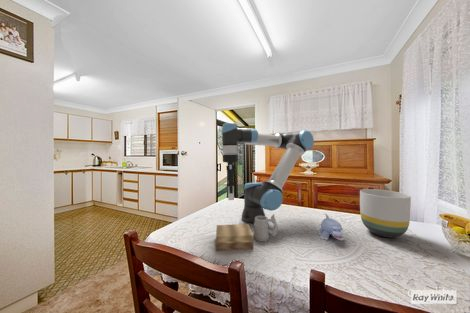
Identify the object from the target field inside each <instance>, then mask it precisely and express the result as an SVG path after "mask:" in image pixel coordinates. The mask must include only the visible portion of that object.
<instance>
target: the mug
mask: <svg viewBox="0 0 470 313" xmlns="http://www.w3.org/2000/svg"><path fill="white" fill-rule="evenodd" d="M265 216H266V215H265ZM265 216H256V217H255V223H253V226H254V230H253V232H252V234H253V239H255V240H256V241H258V242H266V241H268V240H269V237H270V234H271V235H272V236H273V237H276V235H277V234H278V229H279V226H278V224H277V221H276V218H275V214H274V213H273V214H272V215H271V217H270V218H269V217H268V216H266V217H265ZM269 222H271V223H272V224H273V228H272V229H270V228H269V227H270V225H269V224H270V223H269Z"/></svg>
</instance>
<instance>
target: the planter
mask: <svg viewBox="0 0 470 313" xmlns="http://www.w3.org/2000/svg"><path fill="white" fill-rule="evenodd" d="M411 201H412V196H411V195H409V194H407V193H404V192H399V191H393V190H385V189H372V188H366V189H364V188H363V189H360V190H359V210H360V211H359V213H360V219H361V222H362V224H363V225H364V227H366V229H367V230H369V231H370V232H372V233H373V234H374V235H378V236H379V237H383V238H391V239H392V238H398V237H400V236H403V235H404V234H405V233H407V231H408V229H409V226H410V221H411V206H412V204H411V203H412V202H411Z"/></svg>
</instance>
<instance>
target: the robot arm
mask: <svg viewBox="0 0 470 313" xmlns="http://www.w3.org/2000/svg"><path fill="white" fill-rule="evenodd" d="M221 128H222V129H221V135H222V139H221V140H222V142H221V143H222V147H221V150H222V154H223V155H222V162H223V163H227V165H226V168H225V169H226V174H227V184H226V187H227V199H228V201H234V200H235V186H234V185H235V182H234V181H235V178H234V175H235V165H234V164H233V163H237V162H238V159H239V158H238V157H239V156H238V153H239V152H238V151H239V150H238V145H250V146H265V147H266V146H267V147H268V146H269V147H273V148H275V149H283V150H285V152H284V153H283V155H282V156H281V158H280V159H279V162H278V163H277V165H276V167H275V169H274V171H273V172H272V174H271V175H270V177H269V179H268V180H265V181H264V182H261V181H260V182H258V181H257V182H247V183H245V184H244V188H243V191H244V192H243V194H244V195H243V196H244V199H243V200H244V201H243V202H244V204H243V208H242V212H241V220H242V221H243V222H244V223H247V224H254V223H255V217H256V216H265V217H267V216H266V213H265V211H264V210H267V211H269V212H272V211H276V210H277V209H279V208H280V207H281V206H282V204H283V202H284V201H283V198H284V196H283V192H284V191H283V187H284V185H285V183H286V181H287V180H288V177H289V176H290V174H291V172H292V171H293V169H294V167H295V165H296V163H297V161H299V158H300V156H304V154H305V153H306V150H311V149H313V147H314V144H315V141H314V140H315V139H314V136H313V134H312V132H310V131H309V130H306V129H305V130H302V129H301V130H298V131H297V130H296V131H292V132H291V131H289V132H284V133H275V134H270V133H269V134H268V133H259V132H258V130H257V129H256V128H252V127H250V128H248V127H247V128H246V127H238V124H237V123H235V122H226V123H225V122H224V123H223V124H222V127H221Z"/></svg>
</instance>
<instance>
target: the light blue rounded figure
mask: <svg viewBox="0 0 470 313" xmlns="http://www.w3.org/2000/svg"><path fill="white" fill-rule="evenodd" d="M342 230H343V227H342V225H341V223H340V222H339V221H338V220H336V219H334V218H330V217H329V215H328V214H327V213H325V218H324V219H322V220H321V223H320V228H319V230H318V231H317V234H318V235H319V236H320V238H321V240H330V239H329V237H330V235H331V236H332V237H333V238H334V239H337V240H338V241H346V239H345V238H344V234H343V231H342Z"/></svg>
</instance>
